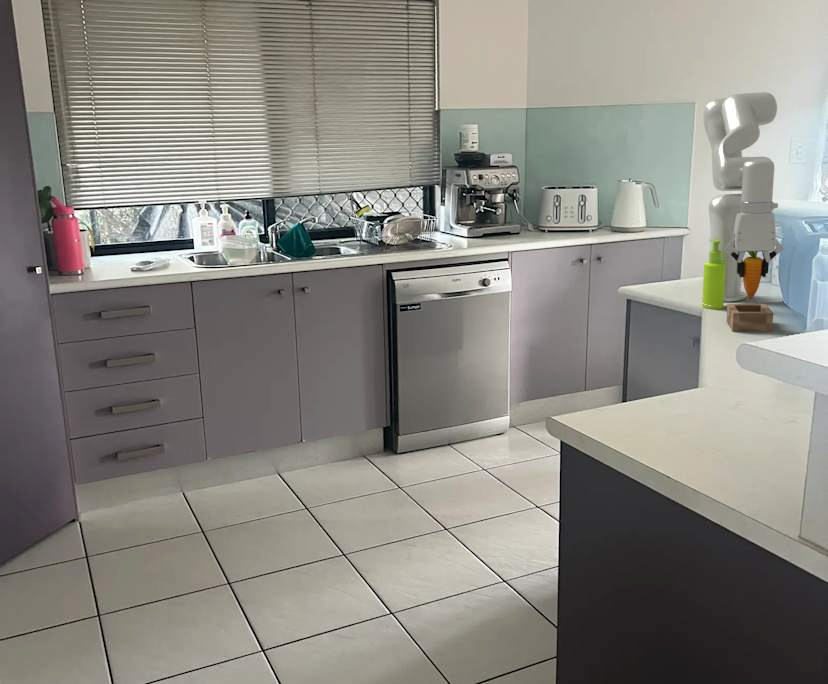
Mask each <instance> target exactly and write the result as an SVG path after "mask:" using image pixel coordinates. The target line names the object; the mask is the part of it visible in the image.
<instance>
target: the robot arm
mask: <svg viewBox="0 0 828 684" xmlns="http://www.w3.org/2000/svg"><path fill="white" fill-rule="evenodd" d="M777 112H778V105H777V100H776V98H775V96H774V95H773V94H771V93H770V92H765V91H764V92H747V93H745V92H744V93H737V94H735V93H734V94H732V95H730V96H728V97H723V98H716V99H713V100H710V101H709V102H708V103H706V105H705V107H704V110H703V124H704V130H705V133H706V137H707V138H708V141H709V144H710V148H711V164H712V166H711V167H712V168H711V170H712V171H711V172H712V181H713V186H714V188H715V190H718V191H720V192H721V191H722V192H741V193H728V194H727V193H726V194H720V195H717V196H715V197H713V198H712V199H711V200H710V202H709V203H708V204H709V205H708V216H709V225H710V239H718V240H719V241H720V244H719V251H721V262H723V263H725V281H724V300H723V303H724V302H725V303H729V302H730V303H731V302H740V301H742V300H745V299H746V298H747V293H746V292H744V291H742V283H743V275H744V263H743V261H744V257H745V254H746V253H748V252H757V251H758V252H760V253H762V257H763V258H762V260H763V265H762V275H761V278H762V277H763V278H766V277H767V274H769V265H770V264H769V263H770V262H772V261H771V260H773V259H774V258H775V257H776V256H777V255H778V254H780V253H781V252H782V251H784V249H785V248H784V246H783V245H782V244H781V243H780V242H779V240H778V239H777V238H776V236H777V234H776V218H775V217H776V216H775V213H774V212H773V210H775V209H778V208H779V204H778V202H774V201H773V193H774V179H775V178H774V177H775V163H774V162H773V160H772V159H771V158H770V157H768V156H743V155H742V154H743V150H745V149H748V148H750V147H752V146H753V145H754V144H756V143H757V141H758V140H759V138H760V135H761V131H760V126H764V125H767V124H768V125H769V124H770V123H772V122H774V120H775V118H776V116H777ZM709 242H710V246H709V247H710V249H709V252H710V251H711V250H712V248H713V243H712V242H711V241H709Z"/></svg>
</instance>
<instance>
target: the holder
mask: <svg viewBox="0 0 828 684" xmlns="http://www.w3.org/2000/svg"><path fill="white" fill-rule="evenodd" d="M726 323H727V325H728V326H729V328H730V330H731V332H773V325H774V324H773V323H774V312H773V311H772V309H770V307H769V306H768V305H767V304H766V303H728V304H727V305H726Z"/></svg>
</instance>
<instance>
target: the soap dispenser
mask: <svg viewBox="0 0 828 684" xmlns="http://www.w3.org/2000/svg"><path fill="white" fill-rule="evenodd" d="M709 242H712V243H713V248H712V250H711V251H710V250H709V253H708V261H706V262H704V263H703V279H702V280H703V283H702V301H701V306H702V308H703V309H707V310H719V309H723V308H724V302H723V300H724V281H725V263H723V262H721V251H719V244H720V241H719V240H718V239H711V238H710V239H709ZM702 302H703V303H704V304H707V305H704V304H702ZM708 305H711V306H708Z"/></svg>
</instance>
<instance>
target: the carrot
mask: <svg viewBox="0 0 828 684" xmlns="http://www.w3.org/2000/svg"><path fill="white" fill-rule="evenodd" d="M747 253H748V254H749V256H747V257H745V258H743V263H744V275H743V277H742V283H743V287H744V291H745V293H746V296H747V297H748V298H749V300H752V299H753V298H754V296H755V295H756V293H757V292H758V289H759V287H760V283H761V279H762V276H761V275H762V265H763V258H761V257H759V256H758V251H757V252H747Z"/></svg>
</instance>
